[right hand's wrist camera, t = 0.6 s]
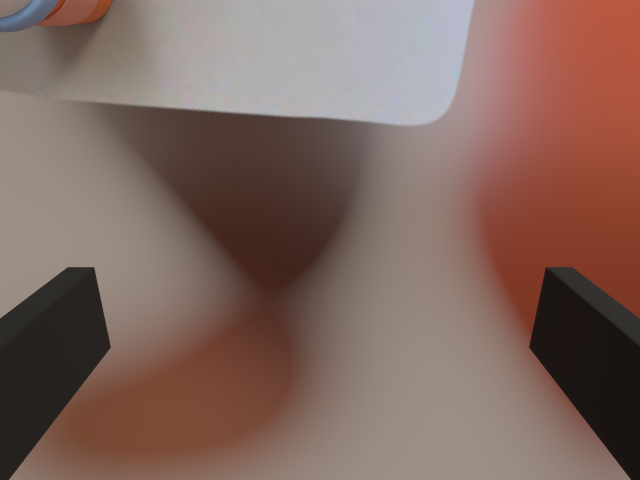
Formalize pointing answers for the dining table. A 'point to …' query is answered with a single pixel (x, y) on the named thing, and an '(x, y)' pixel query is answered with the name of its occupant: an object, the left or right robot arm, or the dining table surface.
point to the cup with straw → (49, 13)
